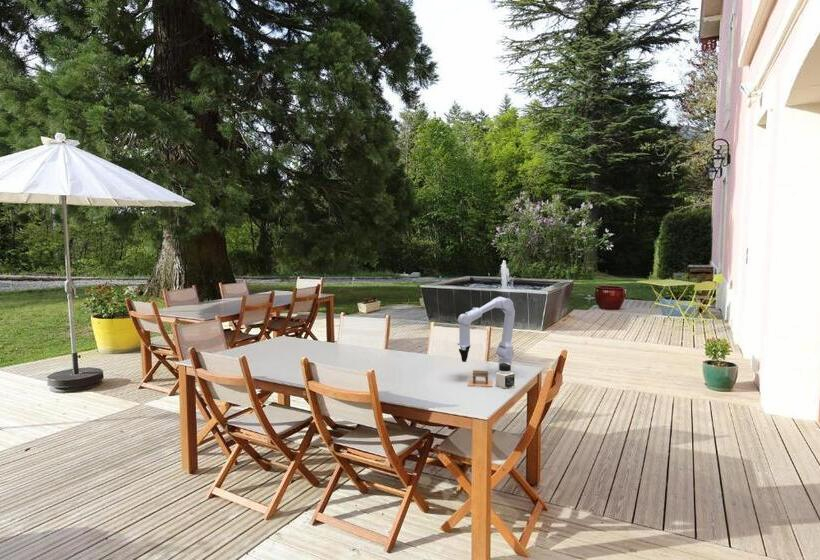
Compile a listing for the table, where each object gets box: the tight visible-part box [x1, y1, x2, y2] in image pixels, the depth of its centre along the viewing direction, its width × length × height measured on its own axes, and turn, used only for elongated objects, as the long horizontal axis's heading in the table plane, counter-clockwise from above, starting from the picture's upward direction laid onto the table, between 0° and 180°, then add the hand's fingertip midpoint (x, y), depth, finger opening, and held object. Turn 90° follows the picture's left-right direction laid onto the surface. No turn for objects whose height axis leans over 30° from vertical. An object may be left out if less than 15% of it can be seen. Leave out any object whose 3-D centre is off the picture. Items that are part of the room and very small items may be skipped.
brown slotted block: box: [472, 369, 489, 384], centre depth 282 cm, size 5×8×6 cm, turn 80°
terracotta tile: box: [467, 378, 494, 388], centre depth 282 cm, size 11×13×1 cm
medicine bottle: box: [495, 363, 515, 390], centre depth 277 cm, size 7×7×12 cm
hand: (464, 360), depth 292 cm, fingers open, 7 cm apart
